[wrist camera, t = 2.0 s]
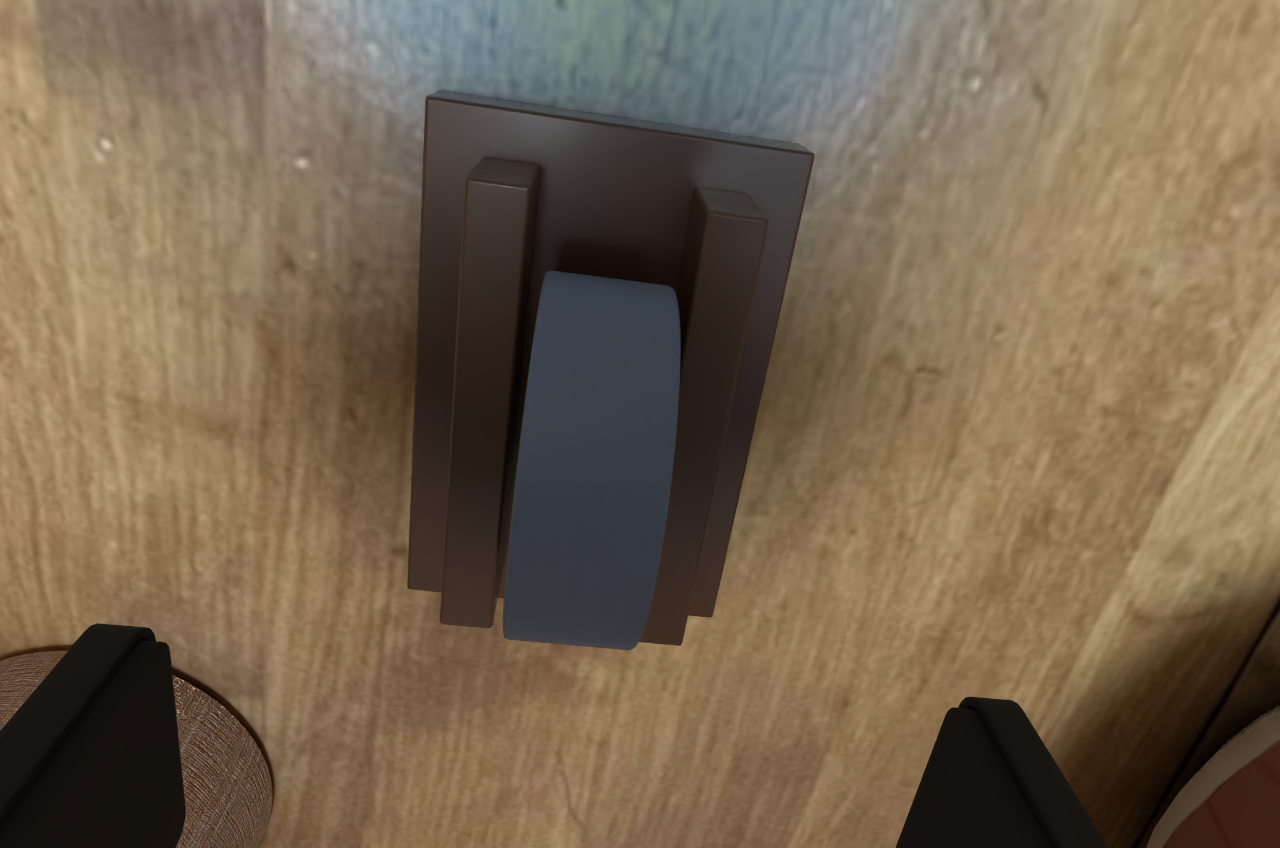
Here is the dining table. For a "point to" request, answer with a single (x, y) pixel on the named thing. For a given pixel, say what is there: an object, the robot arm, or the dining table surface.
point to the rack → (597, 246)
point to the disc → (593, 462)
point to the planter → (185, 758)
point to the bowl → (1230, 795)
